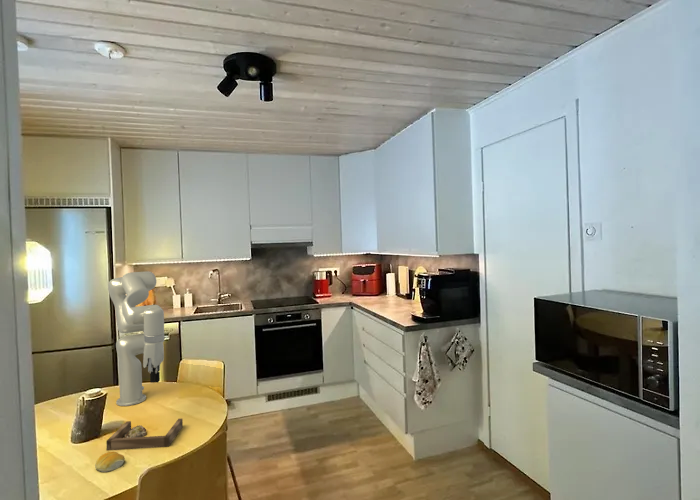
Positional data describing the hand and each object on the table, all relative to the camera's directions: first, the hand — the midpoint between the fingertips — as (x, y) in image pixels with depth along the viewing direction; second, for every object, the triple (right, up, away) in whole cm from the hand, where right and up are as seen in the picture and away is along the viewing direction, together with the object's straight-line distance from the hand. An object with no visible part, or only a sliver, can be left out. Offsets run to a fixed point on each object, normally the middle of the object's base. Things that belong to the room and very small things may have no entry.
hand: (155, 381), depth 166 cm
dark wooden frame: (+2, -19, -10) cm, 21 cm away
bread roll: (-1, -20, -29) cm, 35 cm away
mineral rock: (-4, -19, -9) cm, 21 cm away
